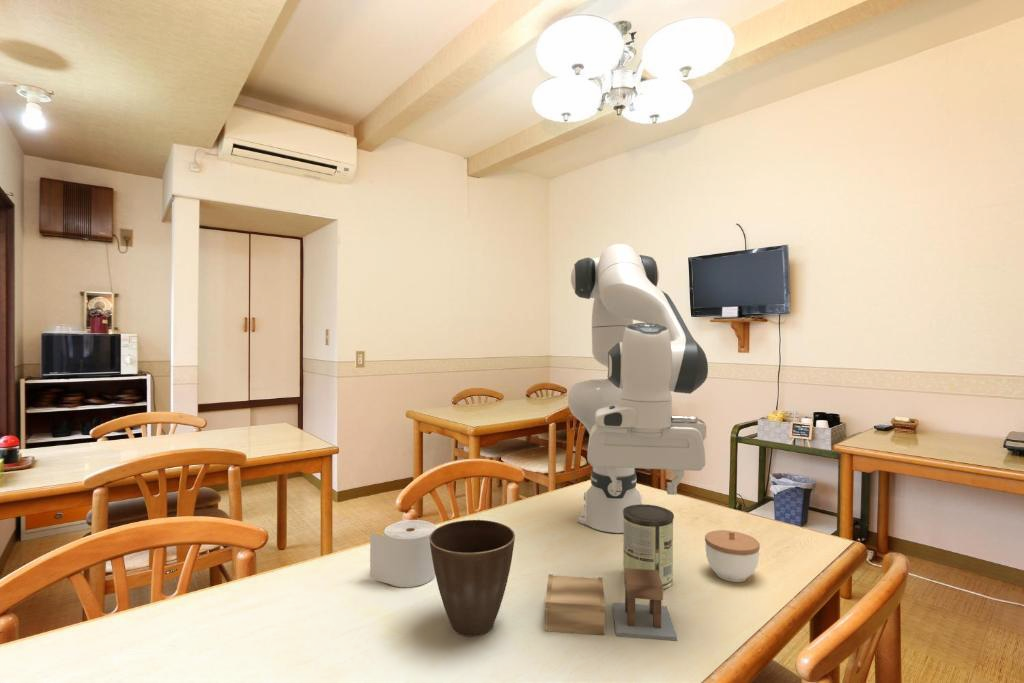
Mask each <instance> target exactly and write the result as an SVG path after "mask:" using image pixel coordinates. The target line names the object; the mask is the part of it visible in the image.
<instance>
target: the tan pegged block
mask: <svg viewBox="0 0 1024 683" xmlns="http://www.w3.org/2000/svg"><path fill="white" fill-rule="evenodd" d="M623 583H624V584H623V585H624V590H625V591H624V603H625V612H626V613H627V623H628V626H635V604H636V599H637V600H638V599H639V600H648V601H649V604H648V605H649V611H650V614H653V626H654V628H661V606H662V601H663V600H664V589H663V585H662V582H661V579H660V576H659V573H658V570H645V569H628V568H624V578H623Z"/></svg>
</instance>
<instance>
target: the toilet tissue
mask: <svg viewBox="0 0 1024 683" xmlns="http://www.w3.org/2000/svg"><path fill="white" fill-rule="evenodd" d="M435 529H437V528H436V525H435V524H434V523H432V522H430V521H427V520H426V521H425V520H420V519H410V520H409V519H407V520H405V519H404V520H400V521H397V522H394V523H391V524H389V525H388V526H386V528H384V532H383V533H384V534H383V535H380V534H377V533H374V532H372V531H370V532H369V535H370V539H369V541H370V542H369V544H370V546H369V547H370V548H369V550H370V551H369V552H370V553H369V554H370V555H369V558H370V560H369V562H370V564H369V566H370V570H369V577H370V578H372V579H374V580H375V581H379V582H381V583H384V584H388V585H390V586H393V587H397V588H414V587H418V585H419V586H422V585H425V584H427V583H429V582H430V581H432V580H433V579H434V578H435V577H436V576H435V571H434V566H433V560H432V554H431V547H430V540H429V537H430V534H431V533H432V532H433V531H434V530H435Z"/></svg>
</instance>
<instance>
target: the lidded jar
mask: <svg viewBox="0 0 1024 683" xmlns="http://www.w3.org/2000/svg"><path fill="white" fill-rule="evenodd" d="M704 541H705V543H704V544H705V555H706V558H707V559H706V560H707V562H708V564H709V566H710V568H711V570H712V571H714V573H715V574H716V577H718V578H720V579H722V580H724V581H727V582H731V583H742V582H743V583H744V582H745V581H747V580H748V578H749V577H751V576H752V575H753V574H754V573H755V571H756V569H757V567H758V563H759V556H760V543H759V541H758V540H757V539H756V537H755V538H754V537H753V536H752V535H748V534H745V533H743V532H739V531H735V530H725V529H724V530H722V529H720V530H719V529H718V530H712V531H709V532H707V533H706V534H705V536H704Z"/></svg>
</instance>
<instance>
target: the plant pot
mask: <svg viewBox="0 0 1024 683" xmlns="http://www.w3.org/2000/svg"><path fill="white" fill-rule="evenodd" d="M515 538H516V534H515V531H514V530H513V529H512V528H511V527H509V526H508V525H506V524H503V523H501V522H496V521H491V520H485V519H483V520H482V519H467V520H466V519H463V520H457V521H453V522H449V523H445V524H443V525H441V526H439V527H437V528H436V529H435V530H434V531H433V532H432V533H431V534H430V537H429V540H430V547H431V554H432V560H433V566H434V571H435V576H434V577H435V579H436V583H437V587H438V591H439V594H440V599H441V601H442V604H443V607H444V610H445V613H446V615H447V618H448V621H449V624H450V626H451V628H452V630H453V631H454V632H455V633H456V634H458V635H460V636H465V637H477V636H483V635H485V634H486V633H488V632H489V631H491V630H492V629H493V627H494V624H495V622H496V621H497V620H496V619H497V617H498V614H499V611H500V608H501V606H502V602H503V599H504V595H505V592H506V588H507V584H508V580H509V575H510V571H511V565H512V559H513V554H514V546H515V540H516V539H515Z"/></svg>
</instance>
